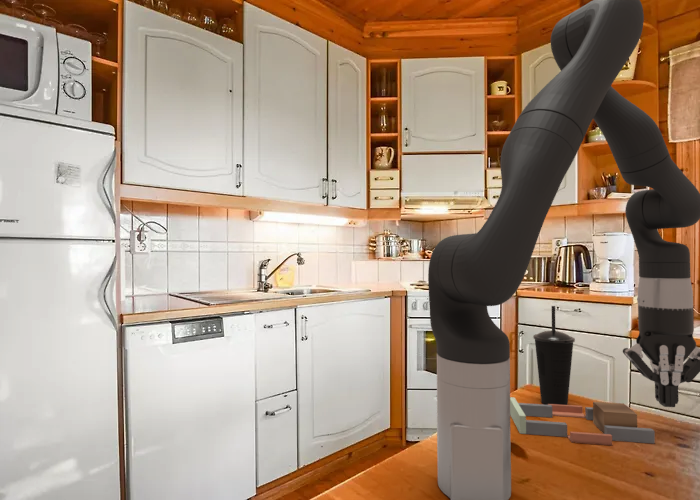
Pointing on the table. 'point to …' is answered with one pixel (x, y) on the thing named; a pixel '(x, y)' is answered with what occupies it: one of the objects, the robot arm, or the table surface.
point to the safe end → (518, 415)
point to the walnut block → (613, 415)
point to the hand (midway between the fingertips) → (667, 405)
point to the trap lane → (580, 437)
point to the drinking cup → (554, 364)
